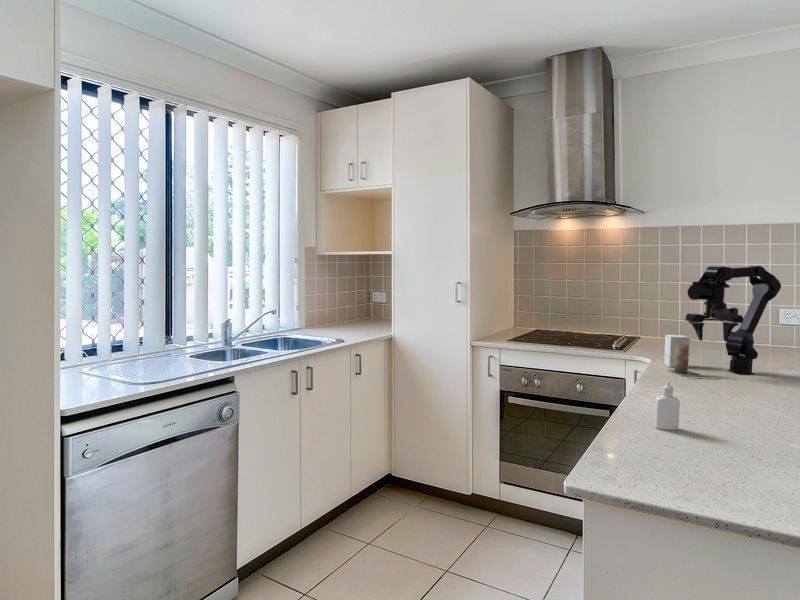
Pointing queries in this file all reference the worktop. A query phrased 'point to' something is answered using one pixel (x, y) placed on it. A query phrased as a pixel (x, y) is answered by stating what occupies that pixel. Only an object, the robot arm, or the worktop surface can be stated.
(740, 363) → the robot arm
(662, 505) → the worktop surface
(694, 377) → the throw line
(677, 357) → the pin
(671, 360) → the supplement box
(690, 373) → the mat
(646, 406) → the worktop surface
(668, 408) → the eye dropper bottle
